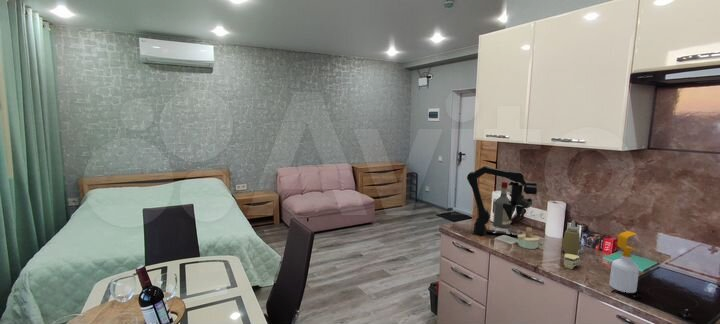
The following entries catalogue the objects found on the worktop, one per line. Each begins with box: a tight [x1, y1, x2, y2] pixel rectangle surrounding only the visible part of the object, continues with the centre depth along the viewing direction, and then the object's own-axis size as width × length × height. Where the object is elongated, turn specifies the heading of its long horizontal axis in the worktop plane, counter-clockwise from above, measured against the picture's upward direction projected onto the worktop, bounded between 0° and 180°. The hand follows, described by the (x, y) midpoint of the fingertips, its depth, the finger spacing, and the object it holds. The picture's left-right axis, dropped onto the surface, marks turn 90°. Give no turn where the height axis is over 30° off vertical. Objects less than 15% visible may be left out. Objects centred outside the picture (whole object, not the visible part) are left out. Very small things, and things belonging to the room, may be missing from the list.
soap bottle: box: [609, 230, 640, 294], centre depth 140 cm, size 9×9×25 cm
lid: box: [516, 226, 540, 242], centre depth 187 cm, size 11×11×6 cm
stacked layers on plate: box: [563, 253, 580, 270], centre depth 162 cm, size 10×9×6 cm
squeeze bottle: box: [561, 219, 581, 255], centre depth 178 cm, size 8×8×18 cm
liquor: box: [492, 181, 512, 229], centre depth 222 cm, size 9×9×30 cm
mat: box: [493, 234, 518, 245], centre depth 198 cm, size 11×11×1 cm
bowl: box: [517, 237, 539, 250], centre depth 188 cm, size 10×10×5 cm
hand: (514, 218), depth 198 cm, fingers open, 9 cm apart
